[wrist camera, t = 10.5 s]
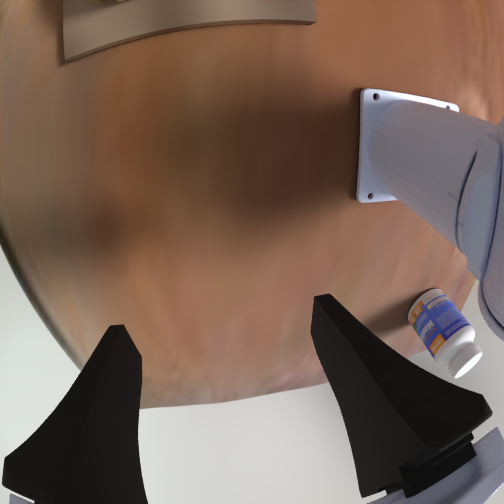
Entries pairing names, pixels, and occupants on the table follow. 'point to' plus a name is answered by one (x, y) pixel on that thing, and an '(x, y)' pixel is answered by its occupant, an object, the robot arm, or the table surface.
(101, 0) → the gear
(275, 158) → the table surface
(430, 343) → the pill bottle
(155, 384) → the table surface
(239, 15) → the gear board
